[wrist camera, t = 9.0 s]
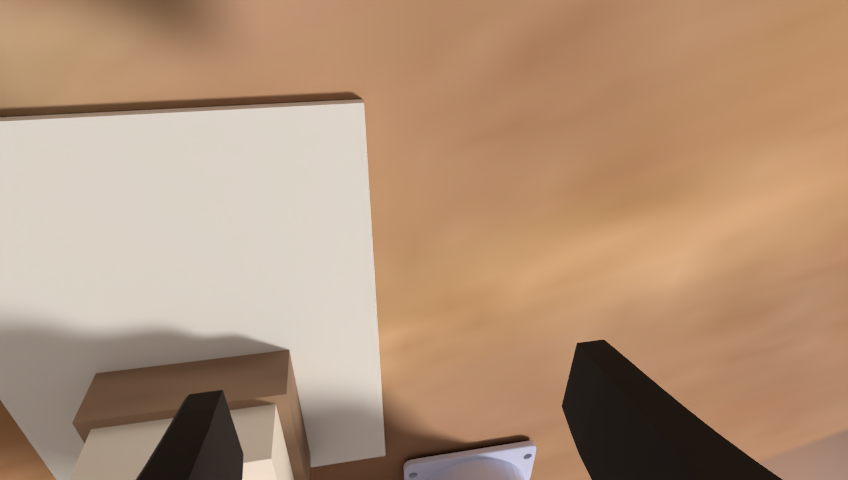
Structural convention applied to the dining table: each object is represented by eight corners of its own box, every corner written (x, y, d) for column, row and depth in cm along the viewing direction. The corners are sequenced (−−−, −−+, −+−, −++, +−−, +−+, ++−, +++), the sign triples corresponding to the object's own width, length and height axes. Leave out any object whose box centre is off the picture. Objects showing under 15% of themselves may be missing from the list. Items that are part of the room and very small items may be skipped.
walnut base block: (310, 456, 27) (310, 501, 25) (151, 480, 26) (137, 530, 24) (289, 349, 22) (286, 394, 20) (95, 373, 21) (71, 423, 19)
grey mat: (384, 449, 28) (385, 455, 28) (76, 497, 26) (73, 504, 26) (362, 99, 17) (364, 103, 17) (-177, 126, 15) (-188, 130, 15)
